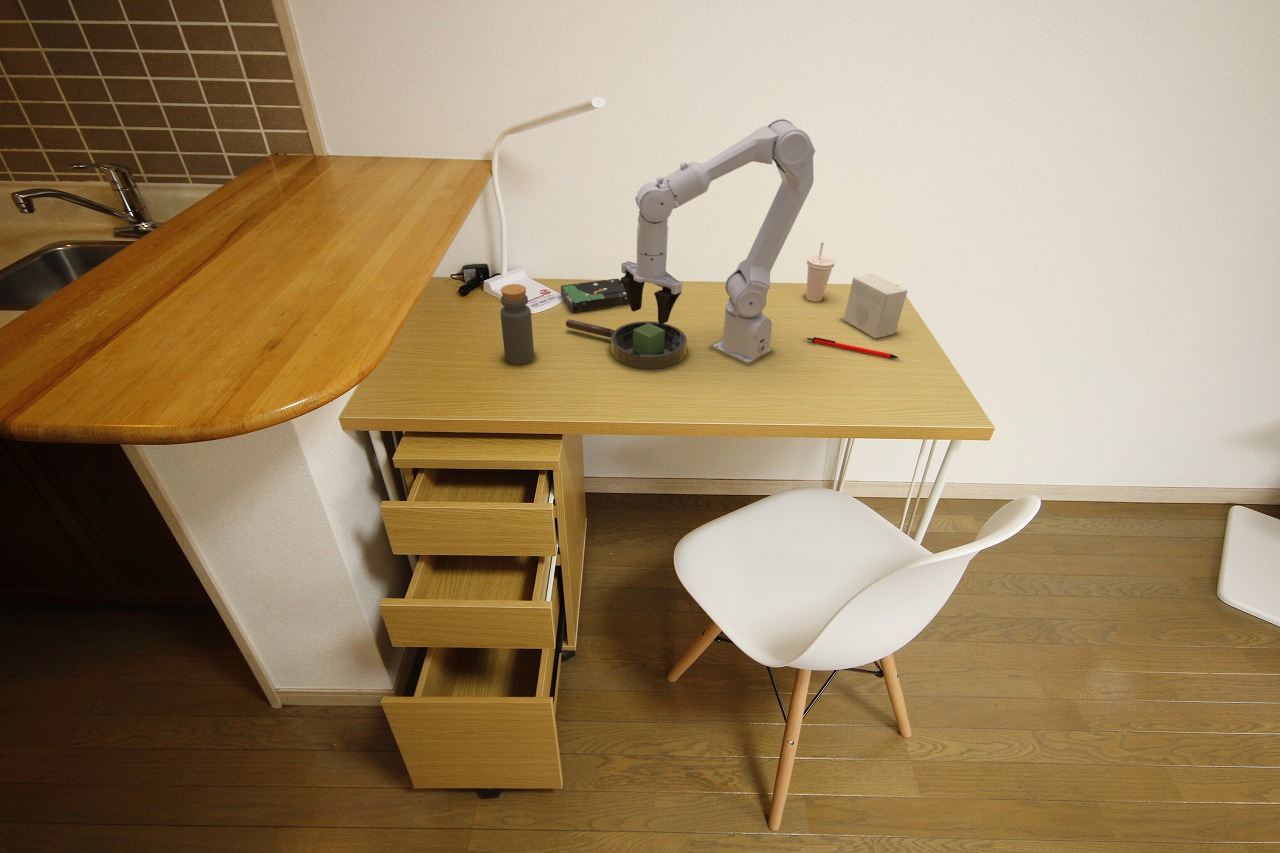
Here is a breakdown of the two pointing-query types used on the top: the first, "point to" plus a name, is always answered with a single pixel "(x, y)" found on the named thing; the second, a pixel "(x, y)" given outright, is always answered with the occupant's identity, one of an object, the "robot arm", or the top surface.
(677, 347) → the skillet
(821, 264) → the smoothie
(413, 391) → the top surface
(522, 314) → the bottle
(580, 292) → the disk drive
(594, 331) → the skillet handle
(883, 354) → the pen
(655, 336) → the block
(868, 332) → the cosmetics box
